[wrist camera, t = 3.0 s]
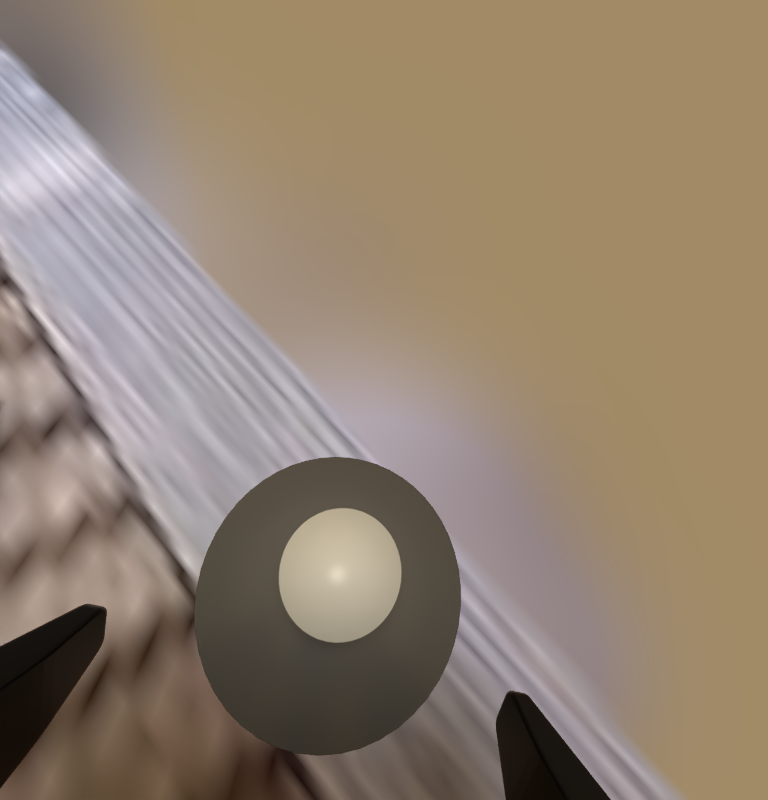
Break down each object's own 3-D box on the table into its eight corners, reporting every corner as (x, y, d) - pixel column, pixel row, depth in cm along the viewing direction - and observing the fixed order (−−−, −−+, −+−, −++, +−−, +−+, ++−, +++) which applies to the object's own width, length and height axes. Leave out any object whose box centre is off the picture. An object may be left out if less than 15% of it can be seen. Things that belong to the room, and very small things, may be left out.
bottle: (372, 641, 16) (543, 680, 4) (281, 682, 15) (188, 883, 3) (346, 550, 18) (419, 409, 6) (263, 580, 17) (162, 470, 5)
